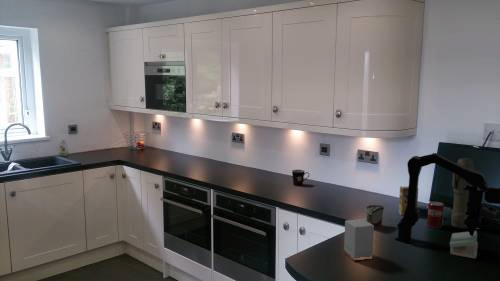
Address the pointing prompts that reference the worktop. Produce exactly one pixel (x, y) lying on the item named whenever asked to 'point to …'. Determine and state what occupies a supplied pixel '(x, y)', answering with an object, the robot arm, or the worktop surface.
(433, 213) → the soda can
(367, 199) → the worktop surface
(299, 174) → the coffee mug
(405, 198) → the candy box
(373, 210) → the food container
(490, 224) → the worktop surface
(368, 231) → the supplement box
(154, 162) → the worktop surface
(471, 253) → the beige tray
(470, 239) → the cover
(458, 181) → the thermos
